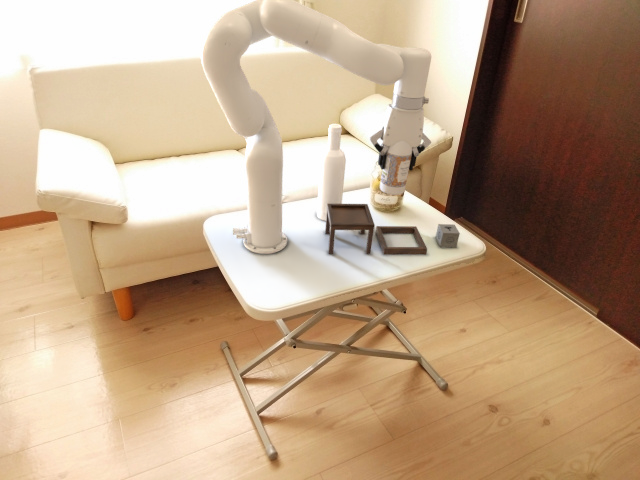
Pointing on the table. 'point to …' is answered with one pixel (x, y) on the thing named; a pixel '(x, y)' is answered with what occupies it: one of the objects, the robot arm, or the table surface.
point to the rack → (368, 228)
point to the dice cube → (447, 235)
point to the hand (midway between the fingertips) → (395, 167)
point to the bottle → (331, 172)
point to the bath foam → (396, 168)
